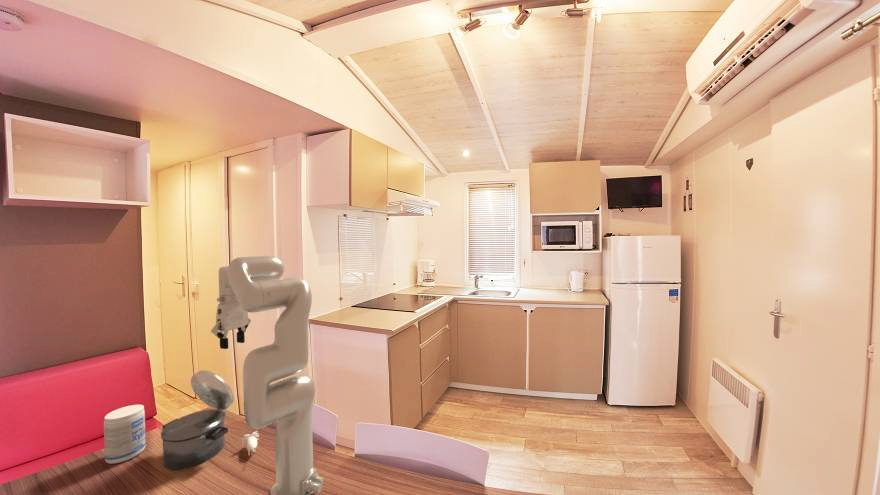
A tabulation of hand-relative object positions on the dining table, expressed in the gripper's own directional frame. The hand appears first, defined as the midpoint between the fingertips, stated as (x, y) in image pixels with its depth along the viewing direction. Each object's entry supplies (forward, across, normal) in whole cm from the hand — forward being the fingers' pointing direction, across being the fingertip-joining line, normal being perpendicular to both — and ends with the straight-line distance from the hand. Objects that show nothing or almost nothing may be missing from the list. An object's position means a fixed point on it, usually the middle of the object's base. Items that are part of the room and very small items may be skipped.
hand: (232, 345), depth 115 cm
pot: (+32, -14, 0) cm, 35 cm away
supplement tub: (+32, -21, +22) cm, 44 cm away
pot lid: (+14, -9, 0) cm, 16 cm away
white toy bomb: (+32, -10, -19) cm, 38 cm away
